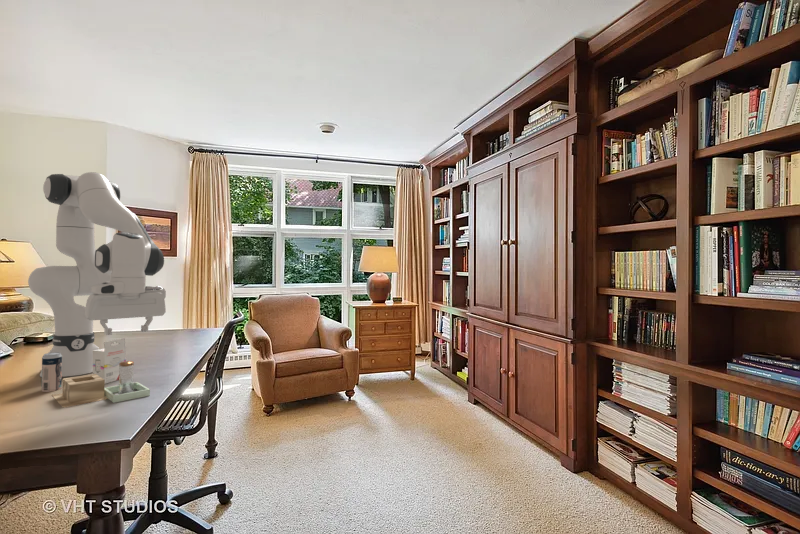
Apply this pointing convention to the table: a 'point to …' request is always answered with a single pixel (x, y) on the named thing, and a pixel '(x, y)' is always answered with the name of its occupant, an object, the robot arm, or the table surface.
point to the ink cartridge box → (109, 360)
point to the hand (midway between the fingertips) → (126, 332)
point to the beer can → (51, 372)
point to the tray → (126, 396)
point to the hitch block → (81, 390)
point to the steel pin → (126, 377)
